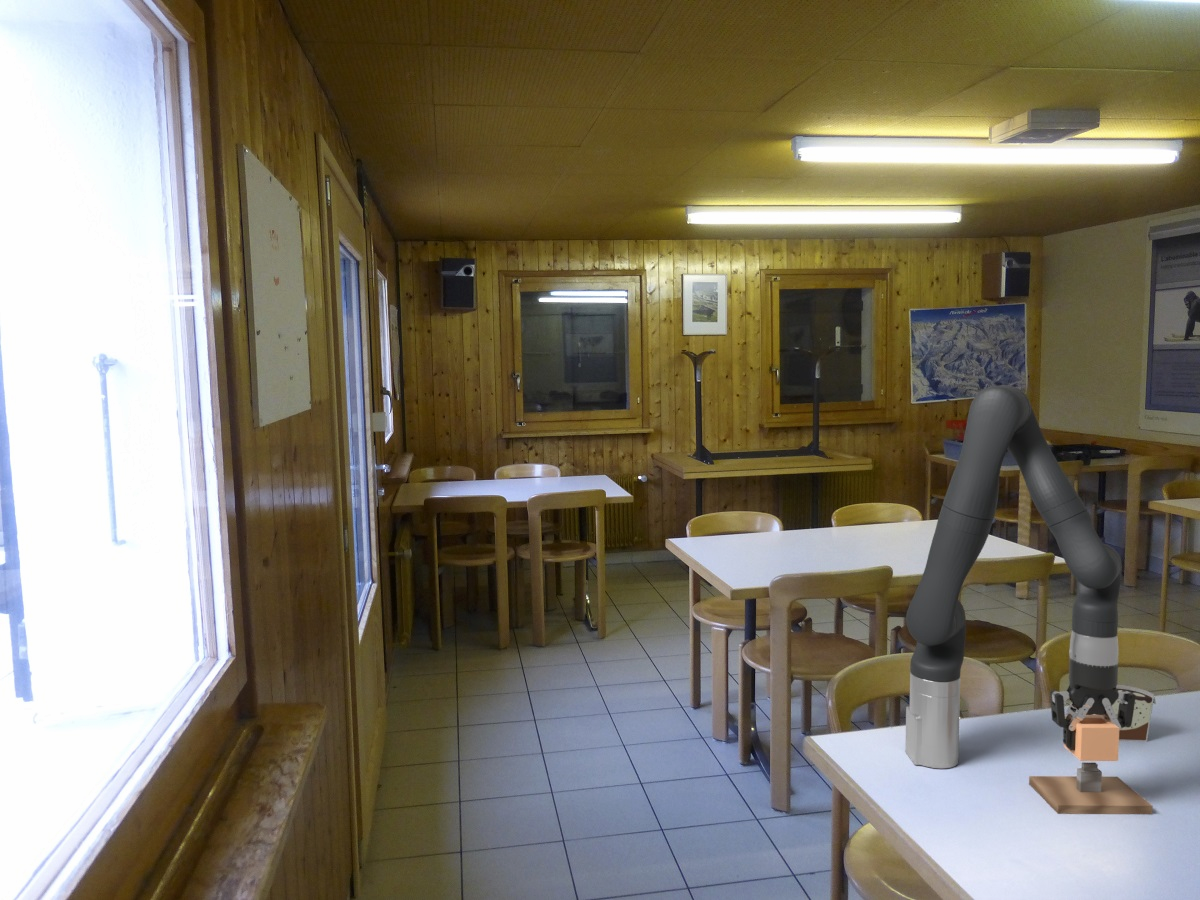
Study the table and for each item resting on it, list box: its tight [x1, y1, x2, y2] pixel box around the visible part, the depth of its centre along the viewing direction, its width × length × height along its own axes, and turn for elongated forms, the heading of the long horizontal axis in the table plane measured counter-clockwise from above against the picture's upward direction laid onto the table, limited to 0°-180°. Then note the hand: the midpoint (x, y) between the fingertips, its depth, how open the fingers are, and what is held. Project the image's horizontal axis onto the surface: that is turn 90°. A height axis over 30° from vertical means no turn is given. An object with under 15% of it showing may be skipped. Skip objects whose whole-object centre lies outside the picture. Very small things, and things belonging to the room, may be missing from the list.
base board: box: [1028, 762, 1154, 815], centre depth 156 cm, size 16×11×6 cm
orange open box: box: [1063, 713, 1120, 762], centre depth 155 cm, size 6×6×6 cm
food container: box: [1102, 684, 1157, 743], centre depth 183 cm, size 12×6×10 cm, turn 84°
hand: (1090, 748), depth 156 cm, fingers closed on orange open box, 6 cm apart
